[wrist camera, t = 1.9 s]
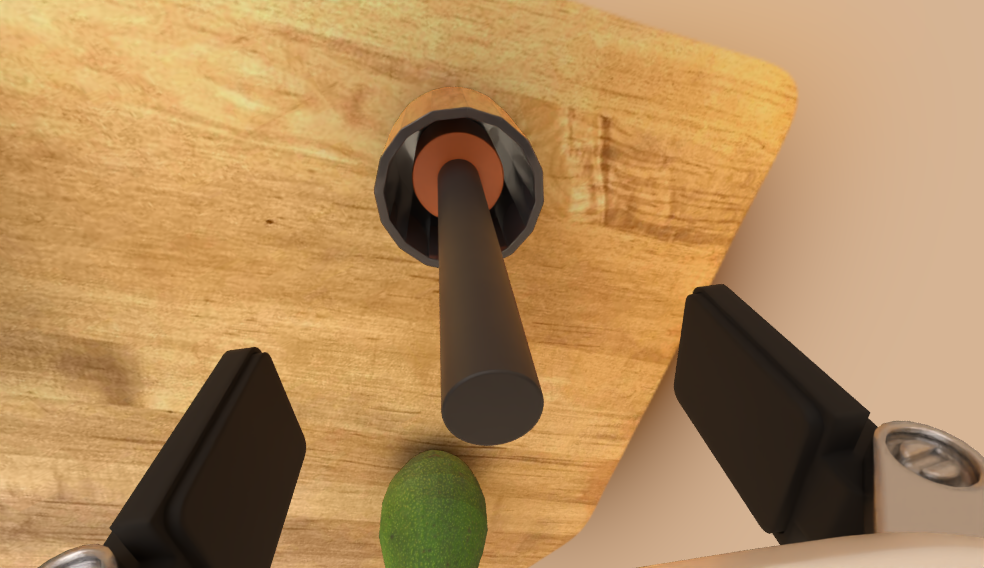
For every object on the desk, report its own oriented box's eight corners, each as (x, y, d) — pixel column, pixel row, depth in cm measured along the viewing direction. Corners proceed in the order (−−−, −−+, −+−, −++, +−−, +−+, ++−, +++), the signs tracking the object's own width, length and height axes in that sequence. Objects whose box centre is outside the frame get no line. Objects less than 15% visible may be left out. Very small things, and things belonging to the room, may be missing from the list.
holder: (376, 94, 24) (357, 119, 18) (514, 79, 24) (540, 98, 18) (403, 223, 27) (393, 280, 21) (521, 208, 28) (546, 260, 22)
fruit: (375, 485, 39) (353, 654, 28) (401, 420, 35) (387, 586, 25) (462, 498, 41) (471, 660, 30) (495, 438, 37) (518, 598, 27)
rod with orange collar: (408, 121, 24) (350, 335, 8) (491, 111, 24) (609, 300, 8) (422, 200, 26) (400, 499, 10) (498, 191, 26) (601, 468, 10)
